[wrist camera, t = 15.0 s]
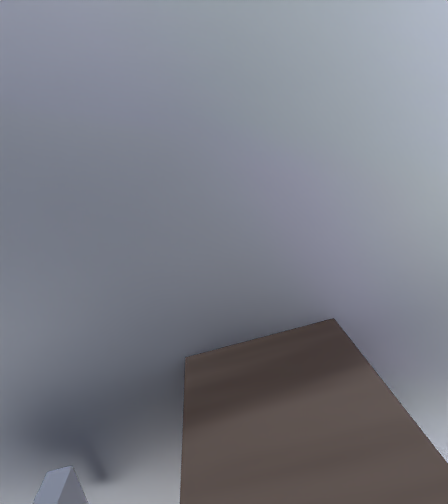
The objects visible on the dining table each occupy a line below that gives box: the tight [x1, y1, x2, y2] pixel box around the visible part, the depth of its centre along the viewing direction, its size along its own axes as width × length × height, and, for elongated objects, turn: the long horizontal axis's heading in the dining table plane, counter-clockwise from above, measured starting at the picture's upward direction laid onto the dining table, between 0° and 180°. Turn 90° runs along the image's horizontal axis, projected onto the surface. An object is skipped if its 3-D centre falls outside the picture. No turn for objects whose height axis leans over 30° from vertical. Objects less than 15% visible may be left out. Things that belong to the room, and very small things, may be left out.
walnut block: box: [180, 318, 448, 504], centre depth 11 cm, size 5×5×7 cm
